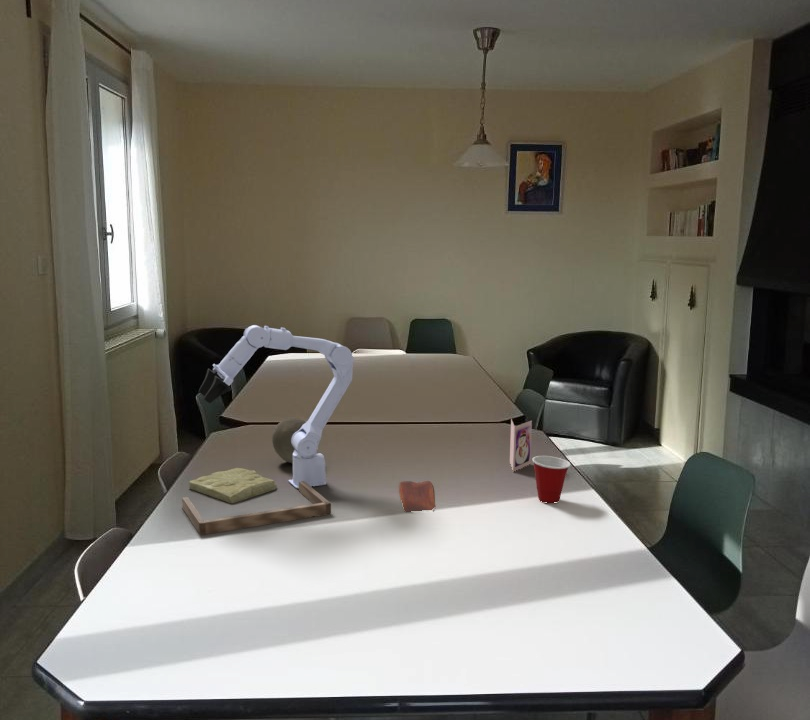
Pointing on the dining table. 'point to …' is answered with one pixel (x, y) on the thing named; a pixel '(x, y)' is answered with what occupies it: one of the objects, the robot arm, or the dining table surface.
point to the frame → (259, 514)
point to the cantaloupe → (286, 438)
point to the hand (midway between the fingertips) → (203, 397)
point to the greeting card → (520, 445)
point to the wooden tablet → (417, 495)
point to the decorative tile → (233, 485)
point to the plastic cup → (550, 477)
